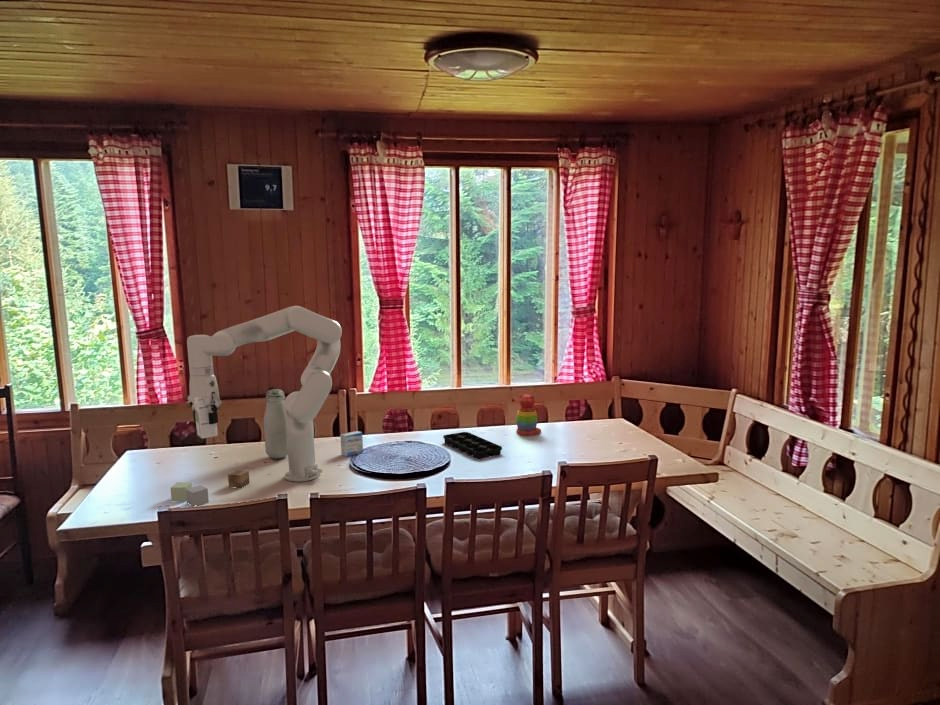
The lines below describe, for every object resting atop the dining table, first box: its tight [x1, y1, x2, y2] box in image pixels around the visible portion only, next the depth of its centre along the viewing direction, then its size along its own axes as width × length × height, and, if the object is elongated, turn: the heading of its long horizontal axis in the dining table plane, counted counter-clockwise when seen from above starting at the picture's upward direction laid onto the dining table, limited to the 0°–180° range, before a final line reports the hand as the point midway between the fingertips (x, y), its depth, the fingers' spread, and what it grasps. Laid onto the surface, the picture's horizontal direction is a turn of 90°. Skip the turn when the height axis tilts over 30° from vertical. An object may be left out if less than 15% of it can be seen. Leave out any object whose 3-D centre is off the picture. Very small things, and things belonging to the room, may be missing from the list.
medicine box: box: [339, 430, 364, 458], centre depth 272 cm, size 8×4×9 cm, turn 131°
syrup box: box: [194, 396, 218, 439], centre depth 229 cm, size 6×6×14 cm
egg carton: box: [442, 431, 503, 460], centre depth 276 cm, size 18×30×4 cm, turn 44°
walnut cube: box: [227, 469, 251, 489], centre depth 237 cm, size 5×5×5 cm
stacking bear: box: [515, 393, 542, 437], centre depth 296 cm, size 11×10×18 cm
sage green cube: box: [170, 481, 193, 502], centre depth 225 cm, size 5×5×5 cm
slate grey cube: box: [186, 484, 210, 507], centre depth 221 cm, size 5×5×5 cm
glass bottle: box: [263, 388, 288, 460], centre depth 266 cm, size 10×10×28 cm
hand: (206, 421), depth 229 cm, fingers closed on syrup box, 7 cm apart
